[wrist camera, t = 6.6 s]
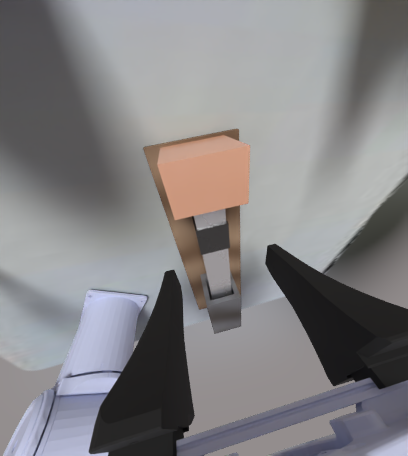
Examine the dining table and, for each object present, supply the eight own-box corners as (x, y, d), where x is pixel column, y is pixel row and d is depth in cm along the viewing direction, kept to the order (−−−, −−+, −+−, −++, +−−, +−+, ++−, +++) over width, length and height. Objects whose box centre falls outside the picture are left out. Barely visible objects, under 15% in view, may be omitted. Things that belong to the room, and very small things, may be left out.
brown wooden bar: (239, 295, 30) (251, 325, 26) (198, 306, 30) (204, 339, 26) (236, 128, 14) (267, 136, 9) (144, 147, 13) (133, 163, 9)
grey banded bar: (227, 285, 24) (233, 303, 22) (209, 290, 24) (213, 309, 22) (214, 154, 13) (224, 163, 11) (179, 161, 13) (182, 172, 10)
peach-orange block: (226, 179, 16) (248, 203, 11) (172, 190, 15) (174, 220, 11) (223, 135, 13) (249, 145, 9) (160, 147, 13) (157, 164, 9)
